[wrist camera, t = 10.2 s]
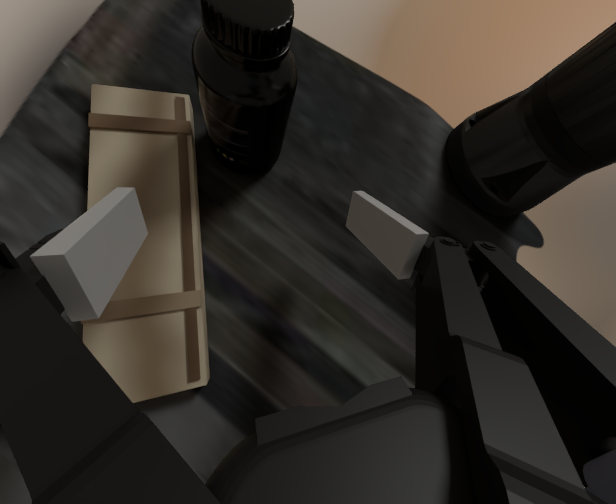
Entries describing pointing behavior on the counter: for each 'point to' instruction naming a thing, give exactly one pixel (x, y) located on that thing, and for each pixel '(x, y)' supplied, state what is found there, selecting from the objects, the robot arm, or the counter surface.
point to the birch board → (151, 243)
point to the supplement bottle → (245, 79)
